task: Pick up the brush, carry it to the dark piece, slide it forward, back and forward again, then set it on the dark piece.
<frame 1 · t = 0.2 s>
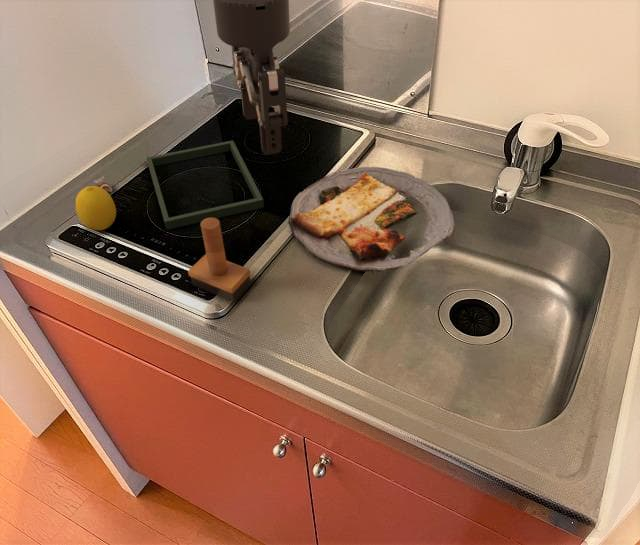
hand: (262, 134, 67), 21 cm above the table, tool pointing down, fingers open, 8 cm apart
food plate: (368, 225, 89), on the table
dark piece: (204, 189, 97), on the table
lemon: (103, 230, 89), on the table
chocolate: (105, 197, 96), on the table
brush: (222, 288, 79), on the table
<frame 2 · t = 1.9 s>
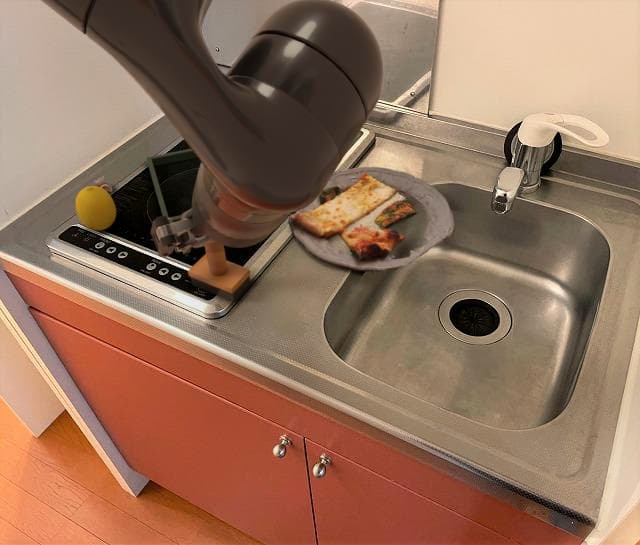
hand: (221, 231, 60), 18 cm above the table, tool tilted 45°, fingers open, 8 cm apart
nothing on the table moved.
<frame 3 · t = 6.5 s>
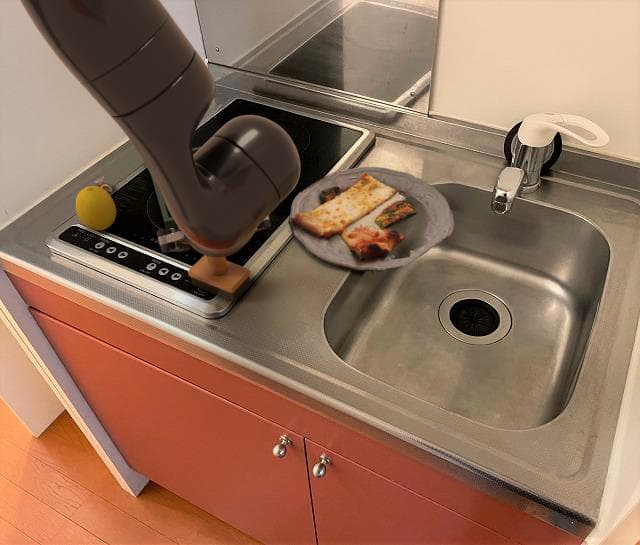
hand: (210, 238, 75), 7 cm above the table, tool tilted 45°, fingers closed on brush, 2 cm apart
brush: (222, 288, 79), on the table, touching gripper
everything else where it was.
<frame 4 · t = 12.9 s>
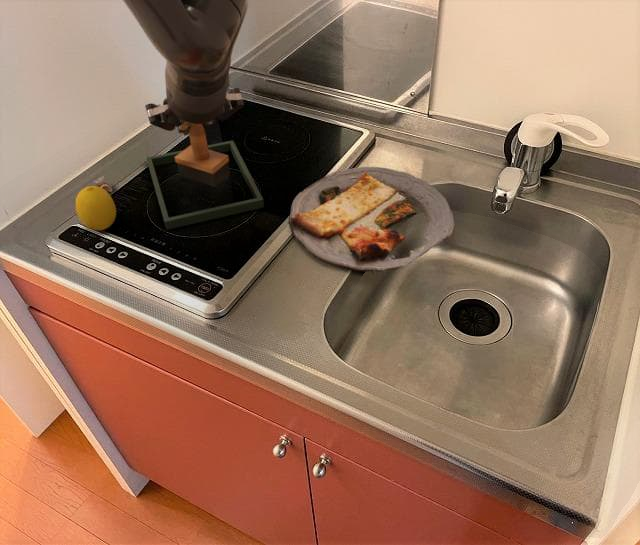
hand: (194, 127, 87), 13 cm above the table, tool tilted 45°, fingers closed on brush, 2 cm apart
brush: (204, 175, 90), point 5 cm above the table, touching gripper
everything else where it was.
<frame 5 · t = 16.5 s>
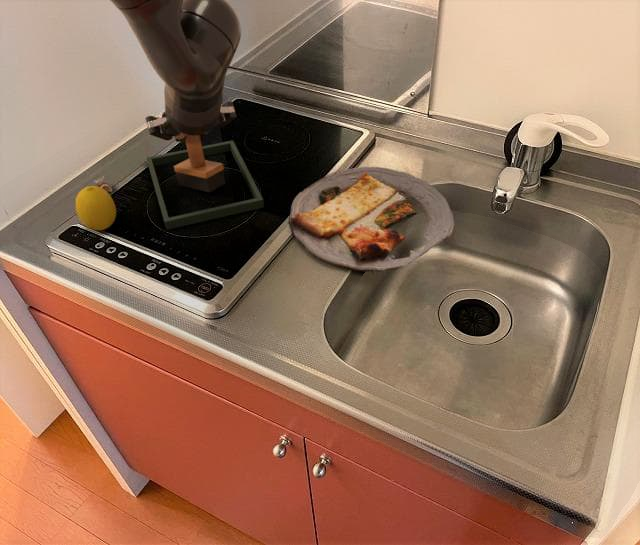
hand: (190, 135, 93), 8 cm above the table, tool tilted 45°, fingers closed on brush, 2 cm apart
brush: (202, 184, 95), point 1 cm above the table, tilted 11°, touching gripper, dark piece
everything else where it was.
when the fingers open (8 cm above the table, at t = 19.5 s): brush stays where it is, resting on dark piece.
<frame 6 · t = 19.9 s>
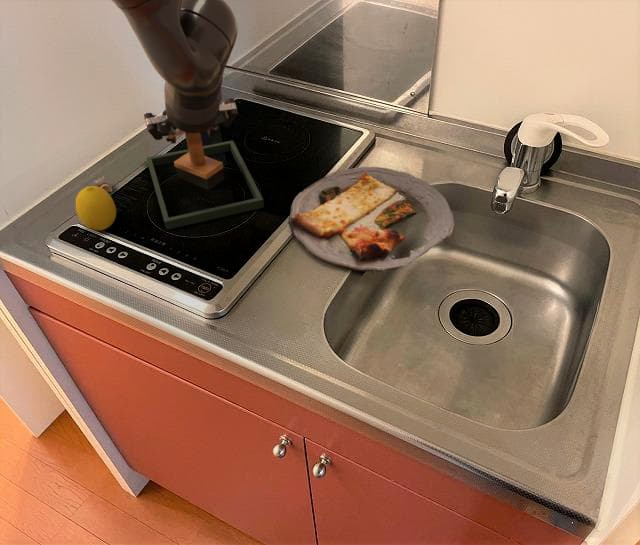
hand: (190, 134, 95), 8 cm above the table, tool tilted 45°, fingers open, 5 cm apart
brush: (201, 179, 98), point 1 cm above the table, touching dark piece
everything else where it was.
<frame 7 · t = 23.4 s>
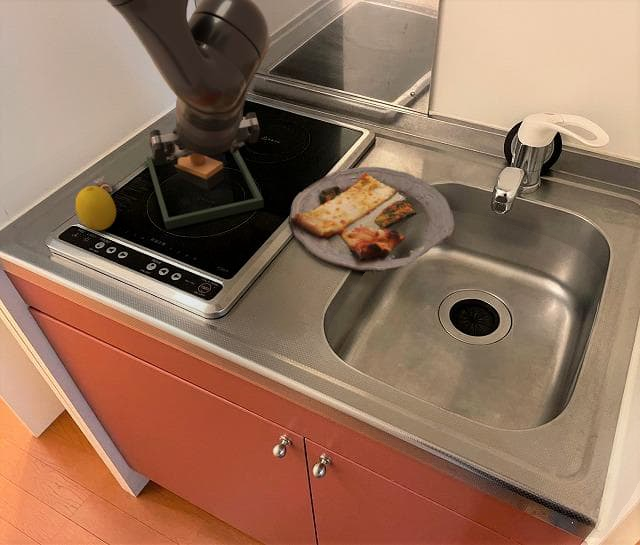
hand: (202, 152, 83), 12 cm above the table, tool tilted 45°, fingers open, 8 cm apart
nothing on the table moved.
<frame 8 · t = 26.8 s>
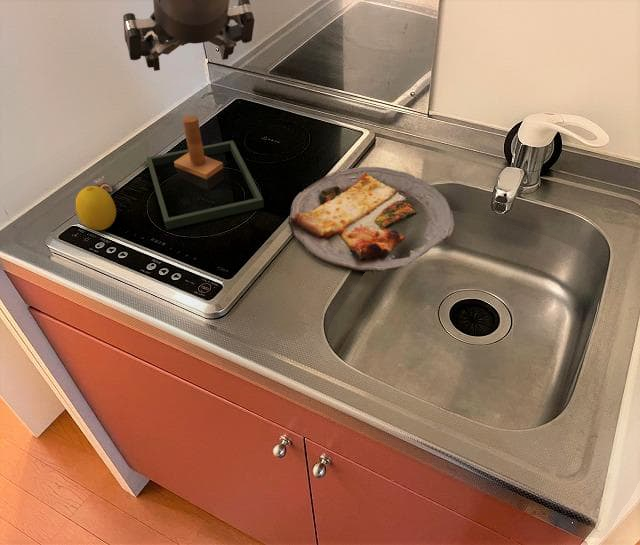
hand: (189, 57, 71), 27 cm above the table, tool tilted 45°, fingers open, 8 cm apart
nothing on the table moved.
at the end: brush inside the target area in the dark piece (1.4 cm from its centre), point 0.6 cm above the dark piece's base; brush tilted 0°; the gripper is holding nothing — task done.
